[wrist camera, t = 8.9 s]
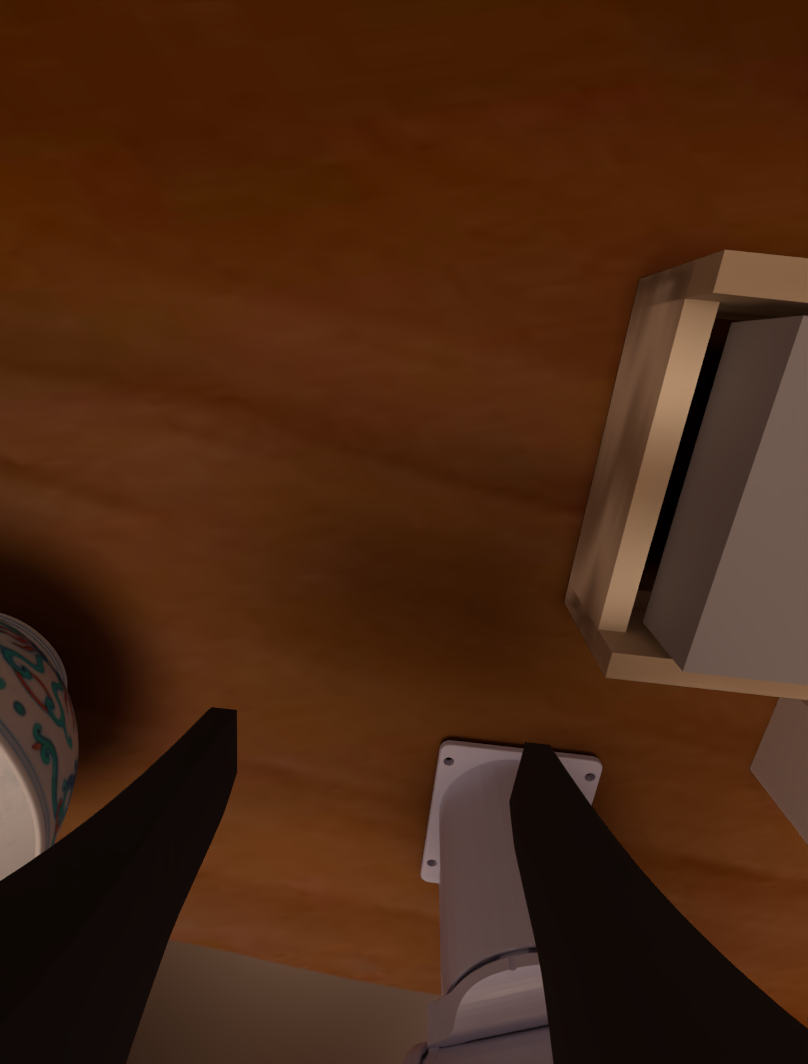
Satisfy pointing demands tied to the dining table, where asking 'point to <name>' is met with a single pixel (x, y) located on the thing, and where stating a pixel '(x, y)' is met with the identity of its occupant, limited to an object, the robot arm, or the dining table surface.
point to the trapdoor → (743, 518)
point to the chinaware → (33, 744)
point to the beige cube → (786, 761)
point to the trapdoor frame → (662, 452)
